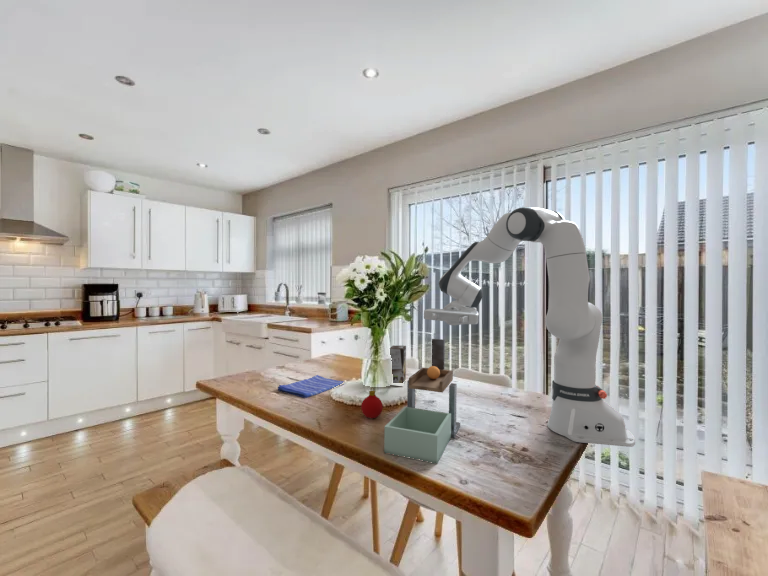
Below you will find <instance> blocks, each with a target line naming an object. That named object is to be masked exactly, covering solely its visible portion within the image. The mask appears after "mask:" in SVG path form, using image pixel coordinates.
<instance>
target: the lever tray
mask: <svg viewBox="0 0 768 576" xmlns="http://www.w3.org/2000/svg"><path fill="white" fill-rule="evenodd" d="M445 341H446V340H445V339H441V338H431V361H430V362H431V365H430V367H431V366H436V367H437V368H438V369H439V370H440V375H439V377H438V378H437V379H431V378H429V377H428V375H427V370H428V368H429V367H421V368H420V369H419V370H417V371H416V372H415V373H414V374H412V375H411V376H409V378H408V380H409V388H411V389H415V390H418V391H429V392H434V393H435V392H437V393H441V394H443V393H444V391H445V390H446V389H447V388H448V387H449V385H450V384H451V383H453V379H454V377H453V376H454V374H453V373H454V370H451V369H445V359H446V358H445V353H446V352H445V351H446V349H445V345H446V342H445Z"/></svg>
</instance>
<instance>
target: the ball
mask: <svg viewBox="0 0 768 576" xmlns="http://www.w3.org/2000/svg"><path fill="white" fill-rule="evenodd" d="M427 368H428V370H427V375H428V377H429V378H431V379H437V378H438V377H439V375H440V370H439V369H438V368H437V367H436V366H431V365H430V366H429V367H427Z"/></svg>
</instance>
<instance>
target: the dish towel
mask: <svg viewBox="0 0 768 576" xmlns="http://www.w3.org/2000/svg"><path fill="white" fill-rule="evenodd" d="M343 382H344V381H342V380H338V379H337V380H336V379H332V378H326V377H323V376H321V375H319V374H317V375H314V376H312V377H310V378H307V379H303V380H301V379H300V380H299V381H295V382H292V383H288V384H281V385H280V384H279V386H278V387H277V391H278V392H281V391H282V392H281V393H284V392H285V394H289V395H293V396H297V397H299V398H303V399H305V398H306V399H308V398H310V397H313V396H316V395H319V394H321V393H325V392H328V391H329V390H333V389H335V388H334V387H336V386H338V385H340V384H342V383H343ZM332 388H333V389H332ZM336 388H337V387H336Z"/></svg>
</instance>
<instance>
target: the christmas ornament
mask: <svg viewBox="0 0 768 576" xmlns="http://www.w3.org/2000/svg"><path fill="white" fill-rule="evenodd" d="M383 406H384V405H383V402H382V400H381V399H380V398H379V397H378V396H377V395H376V391H375V388H374V387H371V388H370V390H369V391H368V396H367V397H365V398H364V399H363V401H362V403H361V404H360V408H361V409H360V410H361V412H362V413H361V414H363V415H364V416H365V417H366V418H368V419H377V418H378V417H380V415H381V414H382V412H383V408H384V407H383Z"/></svg>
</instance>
